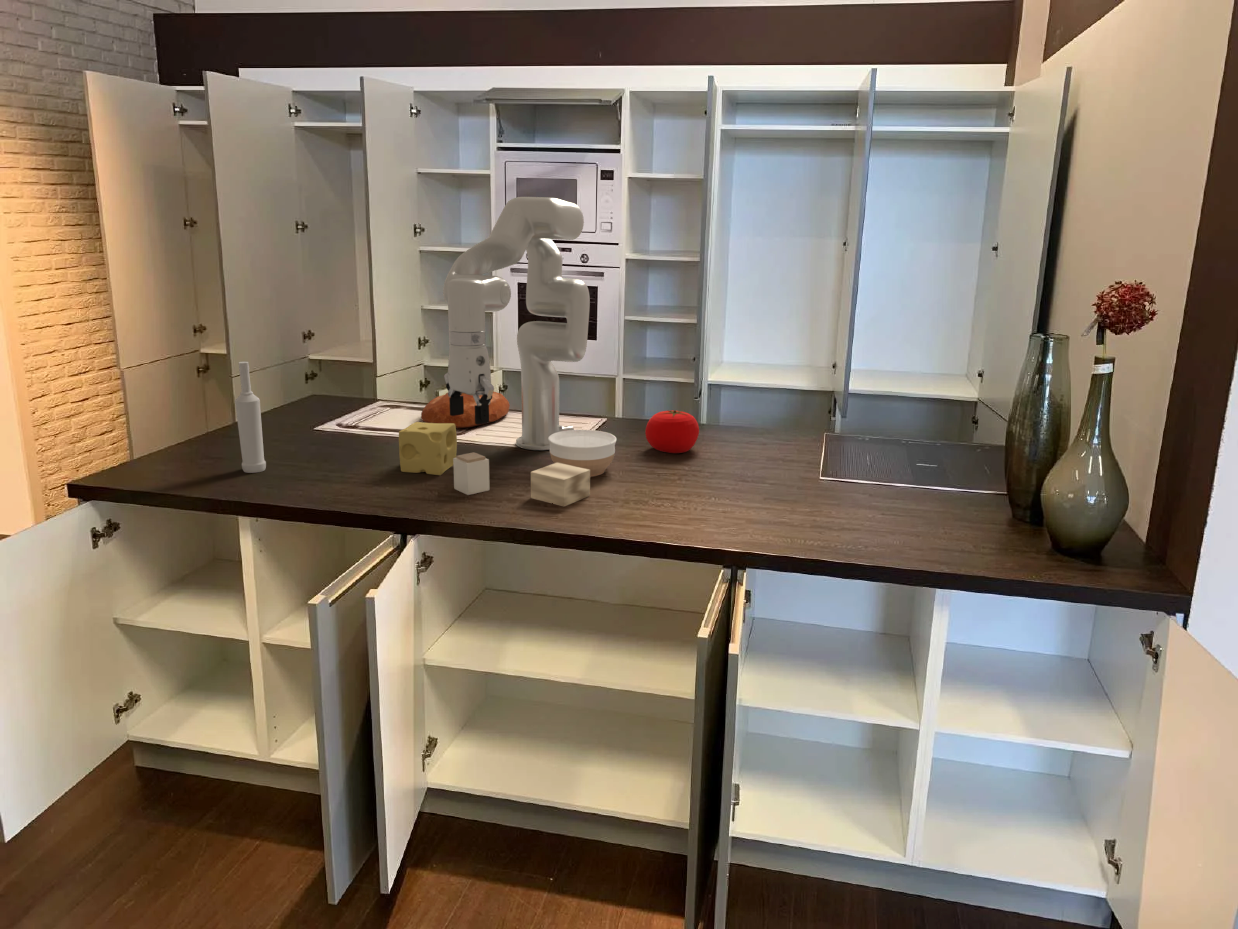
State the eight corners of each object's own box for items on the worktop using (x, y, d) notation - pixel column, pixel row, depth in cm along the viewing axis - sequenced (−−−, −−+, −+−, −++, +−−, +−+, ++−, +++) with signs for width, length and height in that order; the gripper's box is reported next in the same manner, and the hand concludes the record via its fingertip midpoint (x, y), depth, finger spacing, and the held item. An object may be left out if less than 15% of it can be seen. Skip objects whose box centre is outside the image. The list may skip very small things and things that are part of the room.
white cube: (475, 484, 201) (474, 451, 199) (489, 490, 197) (488, 456, 195) (454, 488, 198) (453, 455, 195) (468, 495, 194) (467, 461, 191)
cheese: (441, 476, 206) (439, 433, 203) (397, 472, 208) (395, 430, 205) (458, 463, 216) (456, 422, 213) (416, 460, 218) (414, 419, 215)
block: (557, 488, 200) (557, 462, 198) (589, 496, 195) (590, 469, 193) (530, 498, 193) (530, 471, 191) (564, 507, 188) (564, 479, 186)
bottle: (271, 468, 209) (261, 361, 202) (254, 474, 204) (242, 365, 197) (254, 465, 211) (243, 359, 204) (237, 471, 207) (225, 363, 199)
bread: (404, 428, 248) (402, 396, 245) (454, 403, 277) (453, 375, 274) (480, 435, 242) (479, 402, 239) (523, 409, 272) (523, 380, 269)
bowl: (584, 457, 223) (584, 425, 221) (630, 471, 213) (630, 438, 210) (534, 469, 213) (533, 436, 210) (579, 485, 202) (579, 451, 199)
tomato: (669, 460, 221) (671, 419, 218) (634, 449, 231) (635, 409, 228) (709, 451, 231) (711, 411, 228) (674, 440, 240) (675, 402, 237)
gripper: (506, 342, 184) (507, 424, 189) (460, 332, 196) (462, 409, 201) (475, 345, 179) (477, 429, 184) (429, 335, 192) (432, 414, 196)
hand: (469, 419), depth 193 cm, fingers open, 9 cm apart
